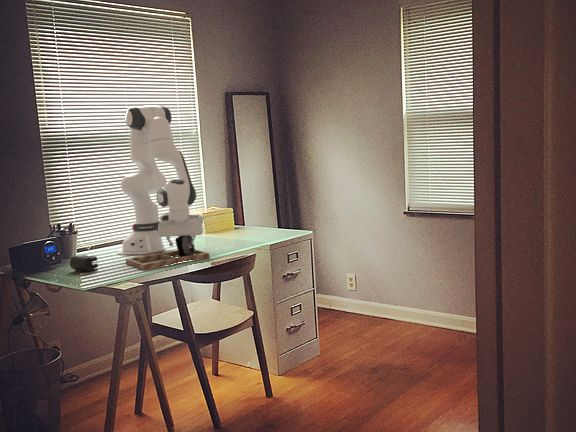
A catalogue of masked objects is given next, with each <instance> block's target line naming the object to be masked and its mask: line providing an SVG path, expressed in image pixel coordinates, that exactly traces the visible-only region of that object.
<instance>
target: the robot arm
mask: <svg viewBox="0 0 576 432" xmlns="http://www.w3.org/2000/svg"><path fill="white" fill-rule="evenodd" d="M124 119H125V124H126V125H127V126H128V128H130V132H129V145H130V146H129V147H130V159H131V161H132V163H134V164H135V165H136V166H137V169H138V171H139V172H134V173H130V174H128V175H126V176H124V177H123V178H122V179H121V183H120V187H121V190H122V192H123V193H124V194H125V195H126V196H127V197H128V198H129V199H130V201H131V202H132V205H133V208H134V215H135V223H133V224H132V227H131V229H132V232H130V234H128V235H127V236H126V237H125V238H124V239H123V241H122V246H121V247H122V248H120V249H119V250H118V251H117V253H118V255H120V256H122V255H123V256H124V255H127V256H128V255H150V254H154V253H157V252H158V253H160V252H161V251H162V252H163V251H164V250H165V249H166V248H165V245H164V243H163V239H162V238H166V240H167V242H168V243H169V245H168V246H169V247H173V246H174V241H171V238H172V237H179V236H192V238H193V240H192V241H190V245H194V246H195V243H194V242H195V240H196V237H197V236H201V235H203V233H204V228H203V227H204V226H203V222H204V217H203V216H202V215H200V214H190V206H191V205H193V203H194V202H195V201H196V199H197V192H196V189H195V187H194V184H193V182H192V179H191V177H190V173H189V169H188V167H187V164H186V161H185V157H184V155H183V153H182V152H181V151H180V150H178V148H177V147H176V145H175V142H174V137H173V132H172V129H171V122H172V113H171V110H170V109H169V108H168V107H166V106H164V105H141V106H131V107H128V108H127V110H126V111H125V115H124ZM156 159H158V160H159V161H162V162H165V163H168V164H170V165H172V166H173V167H174V168H175V170H176V174H177V176H178V179H177V178H176V179H171V180H168V182H167V178H166V175H165V174H164V173H162V171H160V169H159V167H158V164H157V161H156ZM151 194H156V201H157V204H158V205H159V206H161V207H162V208H168V209H169V210H168V211H169V212H166V213H163V214H162V215H160V214H159V206H158V205H157V204H156V203H155V202H153V200H152V199H151V198H152V197H150V195H151ZM159 215H160V216H159Z"/></svg>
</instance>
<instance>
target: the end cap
mask: <svg viewBox="0 0 576 432" xmlns="http://www.w3.org/2000/svg"><path fill="white" fill-rule="evenodd" d="M97 261H98V257H97V256H96V255H90V256H88V255H86V254H83V255H73V256H71V258H70V261H69V266H70V268H71V269H72V270H74V271H76V272H84V273H85V272H86V273H93V272H97V271H99V270H98V267H99V264H98V263H93V262H97Z"/></svg>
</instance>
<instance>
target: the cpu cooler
mask: <svg viewBox="0 0 576 432" xmlns="http://www.w3.org/2000/svg"><path fill="white" fill-rule="evenodd" d="M192 240H193V238H192V235H191V236H177V237H176V238H175V245H176V246H175V247H176V250H178V253H179V257H184V256H189V255H194V253H195V249H196V247H195V244H194V245H190V241H192Z"/></svg>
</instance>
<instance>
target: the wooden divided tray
mask: <svg viewBox="0 0 576 432" xmlns="http://www.w3.org/2000/svg"><path fill="white" fill-rule="evenodd" d="M194 254H195V255H189V256H184V257H178V258H175V257H176V256H175V255H179V253H178V250H177V249H174V250H170V251H162V252H158V253H157V252H155V253H149V254H143V255H140V256H139V255H138V256H133V257H128V258H125V264H126V265H127V266H131V267H133V268H136V269H138V270H141V271H148V270H153V269H159V268H158V267H160V268H163V267H162V266H165V265H170V266H172V265H171V264H174V263H178V262H183V261H189V260H197V259H203V260H207V259H210V257H211V256H210V253H209V252H207V251H204V250H199V249H196V248H195V253H194ZM171 256H175V257H171ZM161 259H163V260H161ZM156 260H157V261H156ZM145 262H146V263H145ZM165 267H166V266H165Z"/></svg>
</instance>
